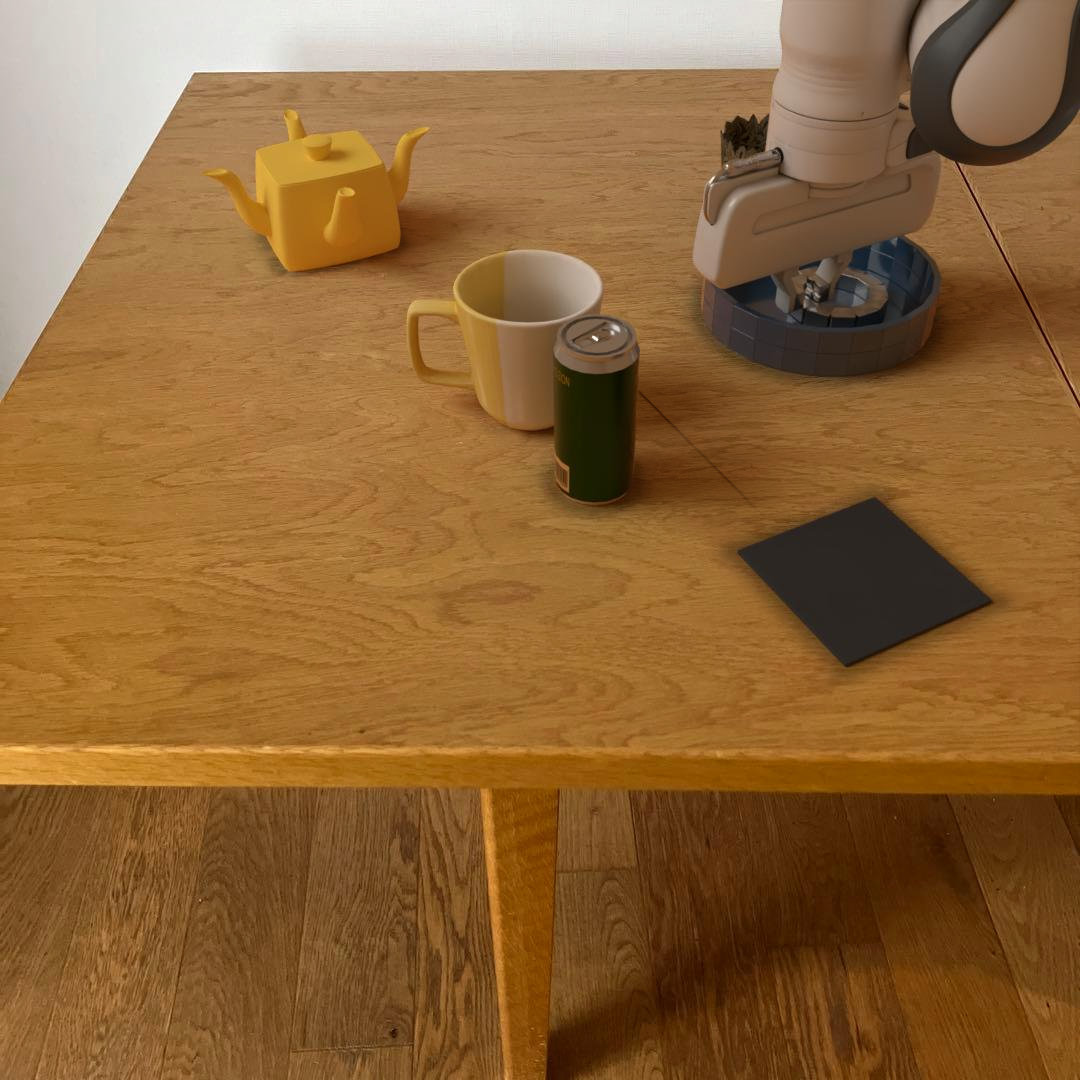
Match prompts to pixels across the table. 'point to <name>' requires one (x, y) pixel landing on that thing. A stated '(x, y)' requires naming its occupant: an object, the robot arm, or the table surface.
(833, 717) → the table surface
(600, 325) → the beer can
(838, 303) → the bowl
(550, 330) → the mug
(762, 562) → the mat
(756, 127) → the cup
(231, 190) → the teapot
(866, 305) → the ring
